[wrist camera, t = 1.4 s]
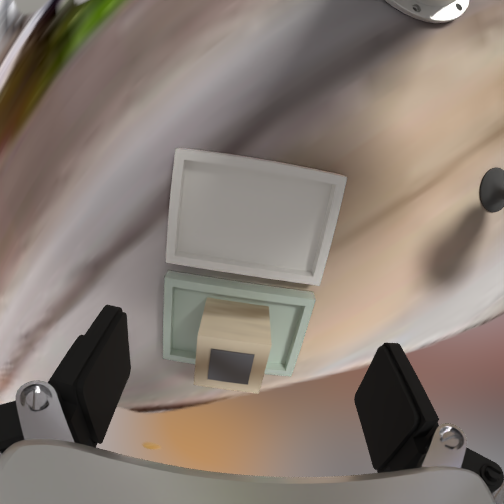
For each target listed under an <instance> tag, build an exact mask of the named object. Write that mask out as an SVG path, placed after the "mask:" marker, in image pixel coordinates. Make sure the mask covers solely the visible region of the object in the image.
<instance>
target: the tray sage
mask: <svg viewBox="0 0 504 504" xmlns="http://www.w3.org/2000/svg"><path fill="white" fill-rule="evenodd" d="M207 297H209V298H215V299H222V300H228V301H235V302H242V303H249V304H256V305H263V306H269V315H270V329H271V343H272V346H271V350H270V353H269V357H268V361H267V365H266V369H265V372H264V374H270V375H280V376H292V373H293V370H294V367H295V364H296V361H297V358H298V355H299V352H300V349H301V346H302V343H303V339H304V336H305V333H306V330H307V327H308V323H309V320H310V317H311V314H312V310H313V307H314V304H315V296H314V293H313V292H309V291H302V290H295V289H287V288H280V287H273V286H266V285H259V284H253V283H246V282H239V281H232V280H226V279H219V278H213V277H207V276H200V275H194V274H188V273H182V272H176V271H170V270H168V272H167V274H166V276H165V278H164V306H163V359H168V360H173V361H178V362H184V363H190V364H195V361H196V349H197V337H198V331H199V327H200V323H201V319H202V315H203V311H204V307H205V303H206V299H207Z"/></svg>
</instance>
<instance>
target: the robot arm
mask: <svg viewBox="0 0 504 504" xmlns="http://www.w3.org/2000/svg"><path fill="white" fill-rule="evenodd" d="M385 1H386V2H388V3H389V4H390V5H391V6H393V7H394V8H396V9H398V10H399V11H401V12H403V13H404V14H406V15H409V16H411V17H413V18H415V19H418V20H422V21H425V22H431V23H446V22H449V21H452V20H454V19H456V18H458V17H460V16H461V15H463V14H464V13H465V11H466V9H467V7H468V5H469V0H385ZM130 370H131V365H130V354H129V343H128V329H127V315H126V313H124V312H122V308H120V307H115V306H110V305H106V306H105V307H104V308H103V309H102V311H101V312H100V314H99V315H98V316H97V318H96V319H95V321H94V322H93V324H92V325H91V327H90V328H89V329H88V331H87V332H86V334H85V335H80V336H79V337H78V338H77V339H76V341H75V342H74V344H73V345H72V346H71V348H70V349H69V351H68V352H67V354H66V355H65V357H64V358H63V360H62V361H61V363H60V364H59V366H58V367H57V369H56V371H55V372H54V374H53V375H52V377H51V378H50V380H49V381H48V383H46V382H44V381H31V382H28V383H25V384H24V385H22V386H21V387H20V388H19V390H18V391H17V394H16V401H13V402H9V403H6V404H2V405H0V504H504V482H503V481H504V475H503V472H502V469H501V468H500V466H499V465H498V464H496V463H495V462H493V461H491V460H489V459H487V458H485V457H483V456H482V455H480V454H478V453H476V452H474V451H472V450H470V449H468V448H467V438H466V435H465V434H464V432H463V431H462V430H461V429H460V428H459V427H457V426H456V425H453V424H449V423H445V424H441V425H440V426H439V425H438V420H439V418H438V416H437V414H436V412H435V411H434V408H433V406H432V404H431V402H430V400H429V398H428V396H427V394H426V392H425V390H424V388H423V387H422V385H421V383H420V381H419V379H418V377H417V375H416V373H415V371H414V370H413V368H412V366H411V364H410V362H409V360H408V358H407V357H406V355H405V353H404V351H403V349H402V348H401V346H400V344H398V343H384V344H383V345H382V346H380V347H379V348H378V350H377V352H376V354H375V356H374V358H373V360H372V362H371V364H370V366H369V368H368V370H367V372H366V374H365V376H364V379H363V380H362V382H361V384H360V386H359V388H358V390H357V392H356V394H355V399H354V400H355V405H356V408H357V412H358V415H359V419H360V422H361V425H362V429H363V432H364V436H365V439H366V443H367V446H368V450H369V454H370V457H371V461H372V465H373V467H374V469H375V470H377V472H378V473H373V474H363V475H351V476H335V477H264V476H250V475H249V476H248V475H238V474H227V473H218V472H210V471H202V470H196V469H189V468H183V467H177V466H172V465H167V464H162V463H157V462H152V461H148V460H143V459H138V458H134V457H130V456H126V455H122V454H118V453H114V452H110V451H107V450H103V449H99V448H96V445H97V443H99V444H101V443H102V442H103V439H104V437H105V435H106V432H107V429H108V427H109V424H110V422H111V419H112V417H113V414H114V412H115V409H116V407H117V404H118V402H119V399H120V397H121V394H122V392H123V390H124V387H125V385H126V382H127V380H128V378H129V375H130Z"/></svg>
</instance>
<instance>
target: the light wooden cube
mask: <svg viewBox="0 0 504 504" xmlns="http://www.w3.org/2000/svg"><path fill="white" fill-rule="evenodd" d="M271 346H272V343H271V329H270V315H269V306H263V305H256V304H249V303H242V302H235V301H228V300H222V299H215V298H209V297H207V299H206V303H205V307H204V311H203V315H202V319H201V323H200V327H199V331H198V337H197V349H196V361H195V374H194V385H198V386H205V387H211V388H218V389H225V390H233V391H241V392H249V393H259V391H260V387H261V383H262V380H263V376H264V372H265V369H266V365H267V361H268V357H269V353H270V350H271Z"/></svg>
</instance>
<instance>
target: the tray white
mask: <svg viewBox="0 0 504 504" xmlns="http://www.w3.org/2000/svg"><path fill="white" fill-rule="evenodd" d="M346 181H347V177H346V176H344V175H342V174H337V173H333V172H328V171H323V170H318V169H314V168H309V167H304V166H298V165H293V164H288V163H282V162H277V161H271V160H265V159H259V158H253V157H247V156H240V155H234V154H227V153H220V152H212V151H205V150H197V149H188V148H177V149H175V157H174V165H173V174H172V183H171V193H170V204H169V216H168V228H167V242H166V259H165V263H171V264H177V265H183V266H189V267H196V268H202V269H208V270H215V271H221V272H228V273H234V274H241V275H247V276H254V277H261V278H268V279H274V280H281V281H288V282H295V283H303V284H310V285H317V286H320V283H321V280H322V276H323V272H324V269H325V265H326V262H327V258H328V254H329V250H330V247H331V243H332V239H333V235H334V231H335V227H336V223H337V219H338V215H339V211H340V207H341V203H342V199H343V194H344V190H345V186H346Z"/></svg>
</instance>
